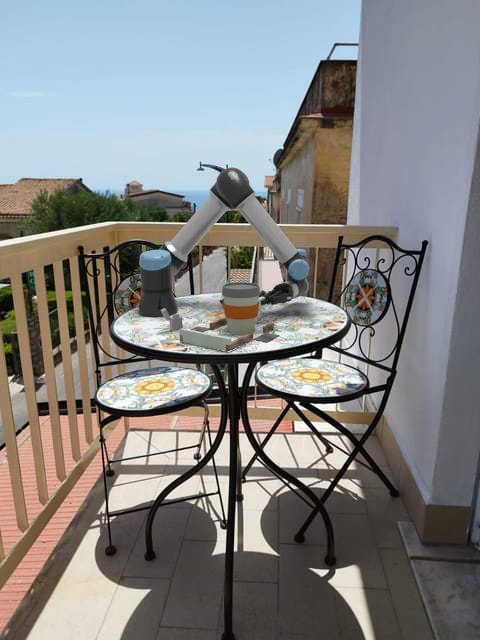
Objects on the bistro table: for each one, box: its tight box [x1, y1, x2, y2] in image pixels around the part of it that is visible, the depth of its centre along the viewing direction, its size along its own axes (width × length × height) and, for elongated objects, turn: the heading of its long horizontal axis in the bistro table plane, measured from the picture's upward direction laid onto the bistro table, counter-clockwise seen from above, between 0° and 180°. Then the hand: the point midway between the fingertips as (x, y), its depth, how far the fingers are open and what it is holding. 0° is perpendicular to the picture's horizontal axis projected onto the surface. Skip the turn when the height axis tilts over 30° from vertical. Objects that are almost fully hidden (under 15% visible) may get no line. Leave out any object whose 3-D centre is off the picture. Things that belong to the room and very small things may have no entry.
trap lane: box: [179, 316, 280, 351], centre depth 137 cm, size 27×28×2 cm
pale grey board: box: [178, 328, 233, 352], centre depth 126 cm, size 1×18×4 cm, turn 57°
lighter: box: [161, 308, 184, 332], centre depth 141 cm, size 7×2×8 cm, turn 126°
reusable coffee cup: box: [221, 281, 261, 335], centre depth 141 cm, size 13×12×15 cm
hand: (254, 304), depth 146 cm, fingers closed
